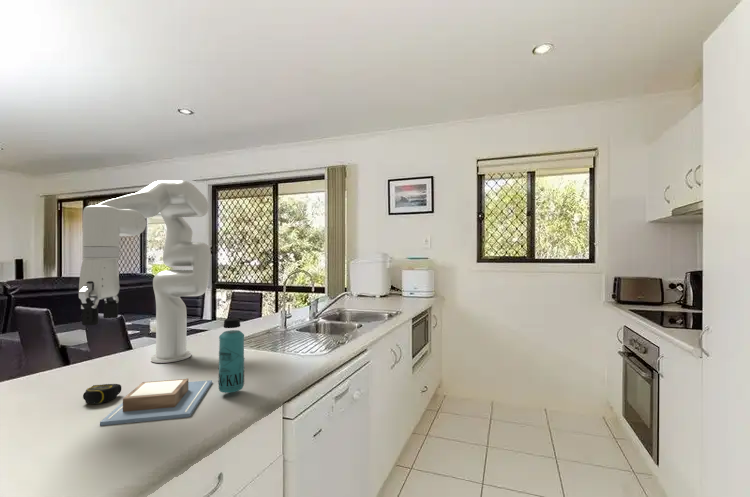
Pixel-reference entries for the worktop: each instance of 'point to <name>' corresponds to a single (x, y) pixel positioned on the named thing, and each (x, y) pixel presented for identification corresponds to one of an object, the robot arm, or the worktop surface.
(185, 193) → the robot arm
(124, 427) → the worktop surface
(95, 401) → the tape measure
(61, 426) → the worktop surface
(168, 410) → the board
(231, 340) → the beverage bottle
